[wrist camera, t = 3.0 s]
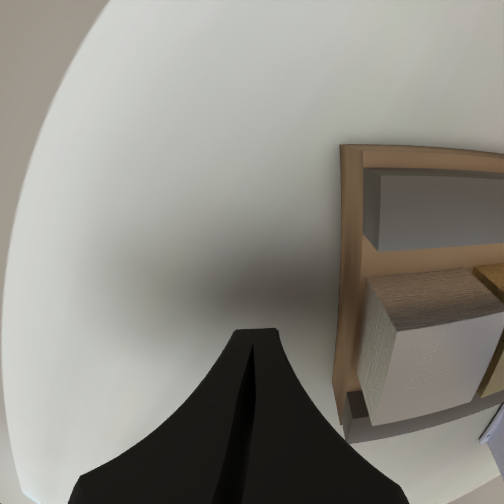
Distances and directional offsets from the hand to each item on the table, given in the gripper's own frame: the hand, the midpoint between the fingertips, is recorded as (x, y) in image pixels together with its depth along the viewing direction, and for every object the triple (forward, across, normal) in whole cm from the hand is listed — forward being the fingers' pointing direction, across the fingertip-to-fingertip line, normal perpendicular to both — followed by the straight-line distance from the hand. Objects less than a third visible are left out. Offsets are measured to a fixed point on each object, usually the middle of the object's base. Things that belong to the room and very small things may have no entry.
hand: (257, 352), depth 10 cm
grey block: (+1, -6, 0) cm, 6 cm away
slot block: (+4, -8, 0) cm, 9 cm away
